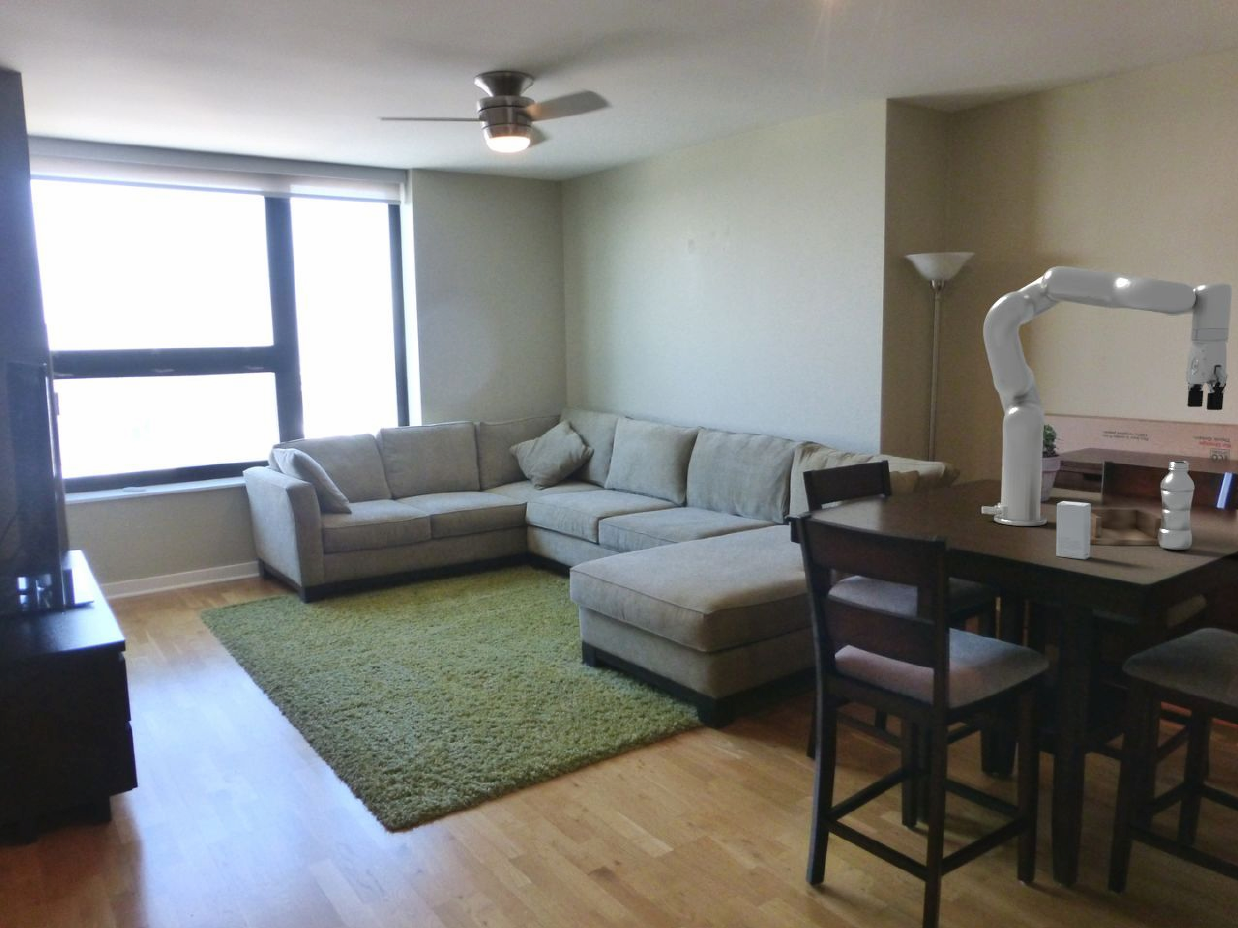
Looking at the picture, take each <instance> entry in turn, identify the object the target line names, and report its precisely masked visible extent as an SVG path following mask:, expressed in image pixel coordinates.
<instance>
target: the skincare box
mask: <svg viewBox="0 0 1238 928" xmlns="http://www.w3.org/2000/svg"><path fill="white" fill-rule="evenodd" d="M1091 508H1092V504H1091V503H1088V502H1079V501H1066V500H1063V501H1060V502H1058V503H1057V504H1056V547H1055V548H1056V549H1055V550H1056V554H1055V555H1056V556H1057V557H1063V558H1070V559H1071V558H1072V559H1077V560H1078V559H1079V560H1086V559H1088V558H1090V556H1091V544H1090V525H1091Z"/></svg>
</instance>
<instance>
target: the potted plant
mask: <svg viewBox="0 0 1238 928" xmlns="http://www.w3.org/2000/svg"><path fill="white" fill-rule="evenodd" d="M1052 431H1053V427H1052V426H1051V425H1050V424H1049V423H1048V424H1044V430H1043V451H1042V479H1041V502H1047V501H1048V500H1049V499H1050V497H1051V494H1052V490H1053V487H1054V483H1055V478H1056V475H1057V472H1058V471H1059V470H1060V469H1061V463H1062V462H1061V461H1062V456H1061V455H1060V452H1059V451H1057V450H1055V449H1058V450H1061V451H1063V450H1062V449H1061V448H1059V447H1057V445H1056V444H1054V442H1055V443H1060V444H1063V443H1062V442H1059V441H1064V440H1062V439H1060V438H1058V437H1057V436H1056V434H1055V433H1052ZM1057 435H1059V434H1058V433H1057ZM1059 436H1060V435H1059ZM1001 437H1003V434H1002V435H1001ZM1056 440H1059V441H1056ZM1070 444H1071V443H1070ZM1071 445H1073V444H1071ZM1062 454H1064V455H1065V453H1062Z"/></svg>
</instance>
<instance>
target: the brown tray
mask: <svg viewBox="0 0 1238 928" xmlns="http://www.w3.org/2000/svg"><path fill="white" fill-rule="evenodd" d="M1161 519H1162V518H1160V517H1158V516H1156V515H1155V514H1152V513H1150V512H1147V511H1146V510H1143V509H1142V508H1119V507H1118V508H1110V507H1108V508H1103V507H1101V508H1099V507H1091V525H1090V545H1097V546H1098V545H1101V546H1102V545H1103V546H1105V545H1106V546H1108V545H1109V546H1110V545H1112V546H1113V545H1114V546H1156V547H1157V546H1159V547H1161V546H1160V545H1159V543H1158V533H1159V529H1160V526H1161Z"/></svg>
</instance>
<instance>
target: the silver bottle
mask: <svg viewBox="0 0 1238 928" xmlns="http://www.w3.org/2000/svg"><path fill="white" fill-rule="evenodd" d="M1168 465H1169V466H1168V471H1169V472H1168V474H1166V475H1165V477H1164V478H1163V479H1162V480H1161V481H1160V494H1161V507H1162V509H1161V518H1160V519H1161V526H1160V529H1159V533H1158V543H1159V545H1160V546H1159V547H1161V548H1163V549H1167V550H1171V551H1182V550H1183V551H1184V550H1185V551H1186V550H1189V549H1190V547H1191V545H1192V541H1193V538H1192V537H1193V536H1192V530H1191V509H1192V502H1193V496H1194V491H1195V484H1194V481H1193V479H1192V478H1191V477H1190V475H1189V474H1188V472H1189V470H1190V469H1189V466H1190V462H1188V461H1181V460H1180V461H1179V460H1178V461H1175V460H1174V461H1169V464H1168Z"/></svg>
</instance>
